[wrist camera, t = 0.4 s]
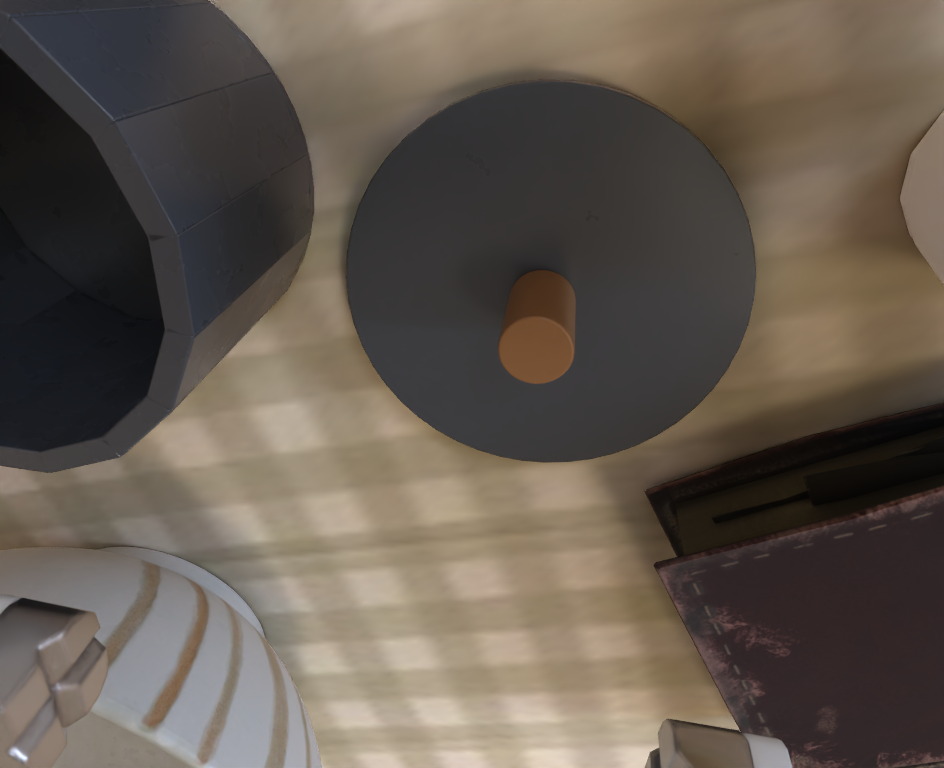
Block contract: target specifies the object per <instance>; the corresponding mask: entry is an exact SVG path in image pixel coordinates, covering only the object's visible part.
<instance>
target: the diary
mask: <svg viewBox="0 0 944 768" xmlns="http://www.w3.org/2000/svg"><path fill="white" fill-rule="evenodd" d="M645 493H646V495H647V497H648V499H649V501H650V503H651V505H652V507H653V509H654V511H655V513H656V515H657V517H658V519H659V521H660V523H661V525H662V527H663V529H664V531H665V533H666V535H667V537H668V539H669V541H670V543H671V545H672V547H673V549H674V551H675V553H676V555H677V557H675V558H671V559H667V560H664V561H660V562H656V563H655V564H654V567H655V569H656V571H657V573H658V574H659V576H660V578H661V580H662V582H663V584H664V586H665V588H666V590H667V592H668V594H669V596H670V598H671V599H672V601H673V603H674V605H675V607H676V609H677V611H678V613H679V615H680V617H681V619H682V621H683V623H684V625H685V627H686V628H687V630H688V632H689V634H690V636H691V638H692V640H693V642H694V644H695V646H696V648H697V650H698V652H699V654H700V656H701V657H702V659H703V661H704V663H705V665H706V667H707V669H708V671H709V673H710V675H711V677H712V678H713V680H714V682H715V684H716V686H717V688H718V690H719V692H720V694H721V696H722V698H723V699H724V701H725V703H726V705H727V707H728V709H729V711H730V713H731V714H732V716H733V718H734V720H735V722H736V724H737V725H738V727H739V729H740V731H741V732H742V733H748V734H754V735H760V736H766V737H772V738H777V739H779V740H781V741H782V742H783V744H784V745H785V747H786V748H787V749H788V753H789V757H790V760H791V764H792V768H944V403H941V404H937V405H933V406H929V407H925V408H921V409H916V410H912V411H908V412H904V413H900V414H896V415H892V416H888V417H884V418H880V419H876V420H872V421H868V422H864V423H860V424H856V425H852V426H848V427H844V428H840V429H835V430H831V431H827V432H823V433H819V434H815V435H811V436H807V437H804V438H801V439H798V440H795V441H792V442H789V443H786V444H783V445H780V446H777V447H774V448H771V449H768V450H765V451H762V452H759V453H756V454H753V455H750V456H747V457H744V458H741V459H738V460H735V461H732V462H730V463H727V464H724V465H721V466H718V467H715V468H712V469H709V470H706V471H703V472H700V473H697V474H694V475H691V476H688V477H685V478H682V479H679V480H676V481H673V482H670V483H667V484H664V485H660V486H657V487H654V488H650V489H647V490H646V491H645Z"/></svg>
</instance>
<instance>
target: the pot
mask: <svg viewBox="0 0 944 768" xmlns="http://www.w3.org/2000/svg"><path fill="white" fill-rule="evenodd" d="M313 214H314V185H313V176H312V167H311V161H310V157H309V153H308V149H307V145H306V140H305V137H304V134H303V131H302V129H301V126H300V123H299V120H298V117H297V115H296V112H295V110H294V108H293V106H292V104H291V102H290V100H289V98H288V96H287V94H286V92H285V90H284V88H283V86H282V84H281V83H280V81H279V79H278V78H277V76H276V75H275V73H274V71H273V70H272V68H271V67H270V65H269V64H268V62H267V61H266V59H265V58H264V57H263V55H262V54H261V53H260V52H259V50H258V49H257V48H256V47H255V45H254V44H253V43H252V42H251V40H250V39H249V38H248V37H247V36H246V35H245V34H244V33H243V32H242V31H241V30H240V29H239V28H238V27H237V26H236V25H235V24H234V23H233V22H232V21H231V20H230V19H229V18H228V17H227V16H226V15H225V14H224V13H223V12H222V11H220V10H219V9H218V8H217V7H215V6H214V5H213V4H212V3H210V2H209V1H208V0H0V466H6V467H13V468H19V469H26V470H33V471H40V472H46V473H49V472H50V473H52V472H57V471H61V470H66V469H70V468H75V467H79V466H83V465H88V464H92V463H97V462H101V461H106V460H110V459H114V458H119V457H121V456H122V455H124V454H125V453H126V452H127V451H128V450H130V449H131V448H132V447H133V446H134V445H135V444H136V443H138V442H139V441H140V440H141V439H142V438H143V437H144V436H145V435H147V434H148V433H149V432H150V431H151V430H152V429H153V428H154V427H156V426H157V425H158V424H159V423H160V422H161V421H162V420H163V419H165V418H166V417H167V416H168V415H169V414H170V413H171V412H172V411H173V410H174V409H175V408H176V407H177V406H178V405H179V404H180V403H181V402H182V401H183V400H184V399H185V398H186V397H187V395H188V394H189V393H190V392H191V391H192V390H193V389H194V388H195V387H196V386H197V385H198V384H199V383H200V382H201V381H202V380H203V379H204V378H205V376H206V375H207V374H208V373H209V372H210V371H211V370H212V369H213V368H214V367H215V366H216V365H217V364H218V363H219V362H220V361H221V360H222V359H223V358H224V356H225V355H226V354H227V353H228V352H229V351H230V350H231V349H232V348H233V347H234V346H235V345H236V344H237V343H238V342H239V341H240V340H241V339H242V337H243V336H244V335H245V334H246V333H247V332H248V331H249V330H250V329H251V328H252V327H253V326H254V325H255V324H256V323H257V322H258V321H259V320H260V318H261V317H262V316H263V315H264V314H265V313H266V312H267V311H268V310H269V309H270V308H271V307H272V306H273V305H274V304H275V303H276V302H277V301H278V300H279V298H280V297H281V296H282V295H283V294H284V293H285V292H286V291H287V290H288V288H289V287H290V284H291V282H292V279H293V277H294V276H295V274H296V272H297V270H298V268H299V266H300V264H301V262H302V259H303V257H304V255H305V252H306V248H307V245H308V242H309V238H310V235H311V228H312V221H313Z"/></svg>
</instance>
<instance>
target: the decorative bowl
mask: <svg viewBox="0 0 944 768" xmlns="http://www.w3.org/2000/svg"><path fill="white" fill-rule="evenodd" d="M0 593H3V594H8V595H14V596H19V597H25V598H28V599H32V600H37V601H42V602H47V603H52V604H57V605H62V606H67V607H72V608H77V609H82V610H87V611H92V612H95V613H96V616H97V619H98V622H99V624H100V627H101V628H100V629H99V630H98V632H97V633H96V634H95V636H94V637H95V638H96V639H97V640H98V641H99V642H100V643H101V644H102V645H103V646H105V647H106V649H107V654H108V658H109V666H108V675H107V678H106V681H105V683H104V686H103V689H102V691H101V694H100V696H99V698H98V699H97V701H96V702H95V704H94V705H93V707H92V708H91V710H90V711H89V713H88V715H86V716H85V717H83V718H81V719H80V720H78V721H76V722H75V723H73V724H72V725H70V726H68V727H67V746H66V747H65V749H64V750H63V751H62V753H61V754H60V756H59V757H58V759H57V760H56V762H55V763H54V765H53V766H52V768H322V764H321V759H320V755H319V750H318V746H317V742H316V738H315V735H314V731H313V728H312V725H311V722H310V719H309V716H308V713H307V711H306V708H305V706H304V703H303V701H302V699H301V696H300V694H299V692H298V690H297V688H296V685H295V683H294V682H293V680H292V678H291V676H290V674H289V673H288V671H287V669H286V667H285V666H284V664H283V663H282V661H281V660H280V658H279V657H278V655H277V654H276V652H275V651H274V650H273V648H272V647H271V646H270V645H269V643H268V642H267V641H266V639H265V635H264V632H263V629H262V627H261V625H260V623H259V621H258V619H257V617H256V616H255V614H254V613H253V611H252V610H251V609H250V607H249V606H248V605H247V604H246V603H245V601H244V600H243V599H242V598H241V597H240V596H239V595H238V594H237V593H236V592H235V591H234V590H232V589H231V588H230V587H229V586H228V585H226V584H225V583H224V582H222V581H221V580H220V579H218V578H217V577H215V576H214V575H212V574H211V573H209V572H207V571H206V570H204V569H202V568H200V567H198V566H196V565H194V564H192V563H190V562H188V561H186V560H183V559H181V558H178V557H176V556H173V555H170V554H166V553H163V552H159V551H155V550H150V549H145V548H137V547H109V548H103V549H98V550H92V549H83V548H70V547H30V548H17V549H7V550H0Z"/></svg>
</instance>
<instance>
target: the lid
mask: <svg viewBox="0 0 944 768" xmlns="http://www.w3.org/2000/svg"><path fill="white" fill-rule="evenodd" d="M346 279H347V289H348V299H349V304H350V308H351V313H352V317H353V321H354V325H355V328H356V330H357V333H358V335H359V338H360V341H361V343H362V346H363V348H364V350H365V352H366V354H367V355H368V357H369V359H370V361H371V363H372V365H373V367H374V368H375V369H376V371H377V372H378V374H379V375H380V377H381V378H382V380H383V381H384V382H385V384H386V385H387V386H388V387H389V388H390V390H391V391H392V392H393V393H394V394H395V395H396V396H397V398H398V399H399V400H400V401H401V402H402V403H403V404H404V405H406V406H407V407H408V408H409V409H410V410H411V411H412V412H413V413H414V414H416V415H417V416H418V417H419V418H421V419H422V420H423V421H425V422H426V423H428V424H429V425H430V426H432V427H433V428H435V429H436V430H438V431H440V432H441V433H443V434H445V435H447V436H449V437H450V438H452V439H454V440H456V441H458V442H460V443H463V444H465V445H467V446H470V447H472V448H475V449H477V450H480V451H483V452H487V453H490V454H493V455H497V456H500V457H506V458H511V459H516V460H521V461H533V462H571V461H579V460H587V459H593V458H597V457H601V456H605V455H610V454H614V453H616V452H619V451H622V450H625V449H628V448H631V447H633V446H636V445H638V444H640V443H642V442H644V441H646V440H648V439H650V438H652V437H654V436H656V435H658V434H660V433H661V432H663V431H664V430H666V429H668V428H669V427H671V426H672V425H674V424H675V423H677V422H678V421H679V420H681V419H682V418H683V417H684V416H685V415H687V414H688V413H689V412H690V411H692V410H693V409H694V408H695V407H696V406H697V405H698V404H699V403H700V402H701V401H702V400H703V399H704V398H705V397H706V396H707V395H708V394H709V393H710V392H711V391H712V389H713V388H714V387H715V385H716V384H717V383H718V381H719V380H720V379H721V377H722V376H723V375H724V373H725V372H726V370H727V369H728V367H729V365H730V363H731V362H732V360H733V358H734V356H735V354H736V353H737V351H738V349H739V347H740V344H741V342H742V339H743V336H744V334H745V331H746V329H747V326H748V323H749V319H750V314H751V310H752V305H753V301H754V292H755V280H756V265H755V250H754V243H753V239H752V234H751V230H750V225H749V221H748V218H747V215H746V213H745V210H744V208H743V205H742V202H741V200H740V197H739V195H738V193H737V191H736V189H735V188H734V186H733V184H732V182H731V181H730V179H729V177H728V175H727V174H726V172H725V170H724V169H723V167H722V166H721V165H720V164H719V162H718V161H717V160H716V159H715V157H714V156H713V155H712V154H711V152H710V151H709V150H708V149H707V147H706V146H705V145H704V144H703V143H702V142H701V141H700V140H699V139H698V138H697V137H696V136H695V135H694V134H693V133H691V132H690V131H689V130H688V129H687V128H686V127H685V126H684V125H683V124H682V123H680V122H679V121H677V120H676V119H674V118H673V117H671V116H670V115H668V114H667V113H665V112H664V111H662V110H661V109H660V108H658V107H656V106H654V105H652V104H650V103H648V102H646V101H644V100H642V99H640V98H638V97H636V96H633V95H631V94H629V93H626V92H623V91H619V90H616V89H613V88H610V87H607V86H603V85H599V84H593V83H587V82H581V81H575V80H552V79H539V80H530V81H522V82H514V83H508V84H505V85H501V86H497V87H493V88H490V89H486V90H482V91H480V92H477V93H475V94H473V95H470V96H468V97H466V98H463V99H461V100H459V101H456V102H454V103H452V104H451V105H449V106H447V107H446V108H444V109H443V110H441V111H439V112H438V113H436V114H434V115H433V116H431V117H429V118H428V119H427V120H426V121H425V122H423V123H422V124H421V125H420V126H418V127H417V128H416V129H415V130H414V131H412V132H411V133H410V134H409V135H408V136H406V137H405V138H404V139H403V140H402V142H401V143H400V144H399V145H398V146H397V147H396V148H395V149H394V150H393V151H392V152H391V154H390V155H389V156H388V157H387V158H386V159H385V161H384V162H383V164H382V165H381V167H380V168H379V170H378V171H377V172H376V174H375V175H374V177H373V178H372V180H371V182H370V184H369V186H368V188H367V190H366V192H365V194H364V196H363V198H362V200H361V202H360V204H359V207H358V210H357V213H356V216H355V219H354V222H353V225H352V228H351V234H350V240H349V245H348V251H347V272H346Z"/></svg>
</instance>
